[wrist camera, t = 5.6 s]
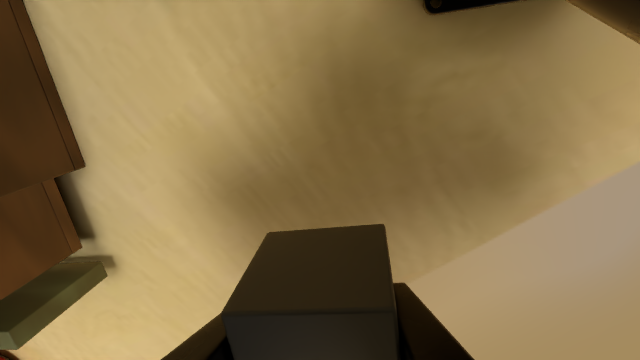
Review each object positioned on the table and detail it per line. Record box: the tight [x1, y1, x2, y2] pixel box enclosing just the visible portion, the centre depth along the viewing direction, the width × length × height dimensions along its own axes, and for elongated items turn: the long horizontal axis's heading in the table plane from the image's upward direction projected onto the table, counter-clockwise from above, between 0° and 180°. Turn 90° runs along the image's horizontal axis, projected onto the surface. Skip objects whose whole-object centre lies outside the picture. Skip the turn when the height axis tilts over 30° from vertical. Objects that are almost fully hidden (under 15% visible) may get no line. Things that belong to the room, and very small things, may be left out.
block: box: [221, 224, 401, 360], centre depth 8 cm, size 4×4×4 cm
